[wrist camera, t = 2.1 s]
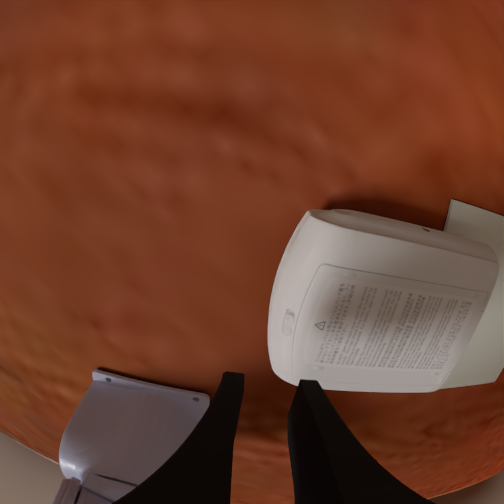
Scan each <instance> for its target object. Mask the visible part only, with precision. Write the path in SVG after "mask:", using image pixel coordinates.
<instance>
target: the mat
mask: <svg viewBox="0 0 504 504" xmlns="http://www.w3.org/2000/svg"><path fill="white" fill-rule="evenodd" d="M443 232H447V233H450V234H454V235H458V236H461V237H465V238H468V239H472V240H475V241H479V242H482V243H485V244H487V245H488V246H490V247H491V248H492V249H493V251H494V252H495V254H496V257H497V259H498V264H499V273H498V276H497V280H496V283H495V286H494V289H493V292H492V294H491V297H490V299H489V302H488V304H487V307H486V309H485V311H484V313H483V315H482V317H481V319H480V321H479V324H478V326H477V328H476V330H475V332H474V334H473V336H472V338H471V340H470V342H469V343H468V345H467V347H466V349H465V351H464V352H463V354H462V356H461V358H460V359H459V361H458V363H457V365H456V366H455V368H454V369H453V371H452V373H451V374H450V376H449V377H448V379H447V380H446V381H445V383H444V384H443V385H442V386H441V387H440V388H439V389H444V388H454V387H462V386H470V385H478V384H485V383H491V382H495V381H496V379H497V378H498V376H499V374H500V373H501V371H502V369H503V368H504V216H501V215H498V214H496V213H493V212H490V211H487V210H484V209H481V208H478V207H475V206H472V205H469V204H466V203H463V202H460V201H456V200H453V199H451V202H450V206H449V210H448V215H447V219H446V222H445V226H444V230H443Z"/></svg>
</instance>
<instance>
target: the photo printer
mask: <svg viewBox="0 0 504 504" xmlns="http://www.w3.org/2000/svg"><path fill="white" fill-rule="evenodd" d="M498 273H499V264H498V259H497V257H496V254H495V252H494V251H493V249H492V248H491V247H490V246H488V245H487V244H485V243H482V242H479V241H475V240H472V239H468V238H465V237H461V236H458V235H454V234H450V233H447V232H443V231H439V230H435V229H431V228H427V227H423V226H419V225H416V224H412V223H408V222H403V221H399V220H395V219H390V218H386V217H382V216H377V215H373V214H368V213H363V212H359V211H354V210H346V209H333V210H318V209H312V210H308V211H307V212H306V213H305V215H304V217H303V218H302V220H301V221H300V223H299V224H298V226H297V227H296V229H295V231H294V233H293V235H292V237H291V239H290V241H289V243H288V245H287V247H286V249H285V252H284V254H283V257H282V259H281V262H280V265H279V267H278V271H277V274H276V277H275V281H274V285H273V289H272V294H271V300H270V307H269V319H268V350H269V357H270V362H271V366H272V369H273V371H274V373H275V374H276V375H277V376H279V377H280V378H281V379H283V380H284V381H286V382H288V383H290V384H293V385H295V386H298V384H299V381H300V379H305V380H317V381H318V382H319V384H320V386H321V387H322V389H326V390H341V391H362V392H399V393H401V392H403V393H409V392H412V393H415V392H433V391H436V390H438V389H439V388H440V387H441V386H442V385H443V384H444V383H445V381H446V380H447V379H448V377H449V376H450V374H451V373H452V371H453V369H454V368H455V366H456V365H457V363H458V361H459V359H460V358H461V356H462V354H463V352H464V351H465V349H466V347H467V345H468V343H469V342H470V340H471V338H472V336H473V334H474V332H475V330H476V328H477V326H478V324H479V321H480V319H481V317H482V315H483V313H484V311H485V309H486V307H487V304H488V302H489V299H490V297H491V294H492V292H493V289H494V286H495V283H496V280H497V276H498Z"/></svg>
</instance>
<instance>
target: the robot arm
mask: <svg viewBox="0 0 504 504" xmlns="http://www.w3.org/2000/svg"><path fill="white" fill-rule="evenodd" d="M92 376H93V382H92V383H91V385H90V387H89V388H88V390H87V392H86V394H85V395H84V397H83V399H82V400H81V402H80V404H79V406H78V407H77V409H76V411H75V413H74V414H73V416H72V418H71V420H70V421H69V423H68V425H67V427H66V429H65V431H64V434H63V436H62V440H61V444H60V450H59V462H60V466H61V470H62V472H63V474H64V476H65V477H66V478H67V479H63V481H62V482H61V485H60V487H59V489H58V491H57V493H56V496H55V498H54V500H53V502H52V504H230V494H231V476H232V459H233V444H234V439H235V434H236V429H237V423H238V418H239V413H240V408H241V402H242V397H243V392H244V374H242V373H234V372H225V373H223V376H222V380H221V383H220V385H219V388H218V390H217V392H216V394H215V396H214V398H213V400H212V402H211V403H210V397H209V395H207V394H205V393H200V392H194V391H188V390H182V389H177V388H172V387H167V386H162V385H158V384H153V383H148V382H144V381H140V380H136V379H132V378H128V377H124V376H120V375H116V374H112V373H109V372H105V371H101V370H98V369H95V370H94V371H93V373H92ZM109 378H110V379H109ZM195 397H196V398H195ZM288 445H289V453H290V461H291V468H292V476H293V484H294V495H295V504H435V503H433V502H431V501H429V500H427V499H426V498H424V497H422V496H420V495H419V494H417V493H416V492H414V491H413V490H411V489H410V488H408V487H407V486H405V485H404V484H403V483H401V482H400V481H399V480H398V479H396V478H395V477H394V476H393V475H391V474H390V473H389V472H388V471H387V470H385V469H384V468H383V467H382V466H381V465H380V464H379V463H378V462H377V461H376V460H375V459H374V458H373V457H372V456H371V455H370V454H369V453H368V452H367V451H366V449H365V448H364V447H363V446H362V445H361V444H360V442H359V441H358V440H357V439H356V437H355V436H354V435H353V434H352V432H351V431H350V430H349V428H348V427H347V426H346V424H345V423H344V421H343V420H342V419H341V417H340V416H339V414H338V413H337V411H336V410H335V408H334V407H333V405H332V404H331V402H330V400H329V399H328V397H327V395H326V394H325V392H324V391H323V389H322V387H321V386H320V384H319V382H318V381H317V380H305V379H300V381H299V384H298V387H297V390H296V393H295V396H294V399H293V402H292V405H291V408H290V411H289V414H288Z"/></svg>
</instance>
